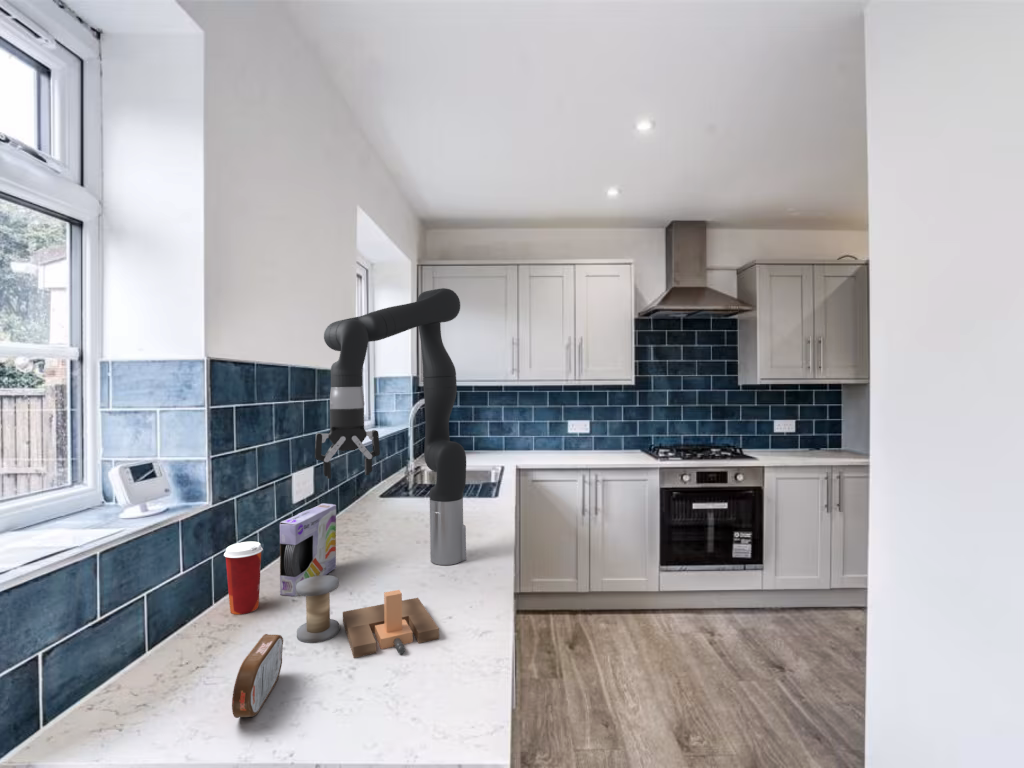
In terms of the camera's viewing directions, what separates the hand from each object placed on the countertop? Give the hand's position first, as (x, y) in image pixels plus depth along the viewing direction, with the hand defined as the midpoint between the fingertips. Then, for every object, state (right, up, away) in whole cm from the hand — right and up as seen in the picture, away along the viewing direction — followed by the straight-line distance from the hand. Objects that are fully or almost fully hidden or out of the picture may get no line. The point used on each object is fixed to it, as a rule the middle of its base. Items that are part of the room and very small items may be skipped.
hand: (348, 476), depth 121 cm
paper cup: (-21, -29, -5) cm, 36 cm away
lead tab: (+16, -28, -21) cm, 39 cm away
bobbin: (-1, -28, -17) cm, 33 cm away
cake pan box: (-13, -29, +10) cm, 33 cm away
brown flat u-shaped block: (+13, -28, -16) cm, 35 cm away
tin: (-2, -29, -38) cm, 48 cm away
